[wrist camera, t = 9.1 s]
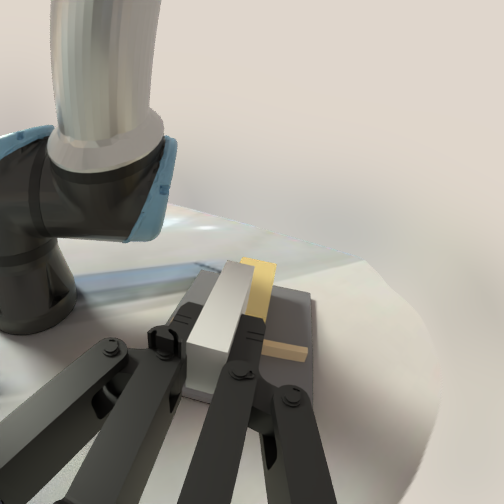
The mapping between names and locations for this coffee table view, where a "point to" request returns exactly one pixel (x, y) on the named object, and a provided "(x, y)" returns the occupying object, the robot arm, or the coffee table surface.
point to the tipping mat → (270, 336)
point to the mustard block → (260, 287)
